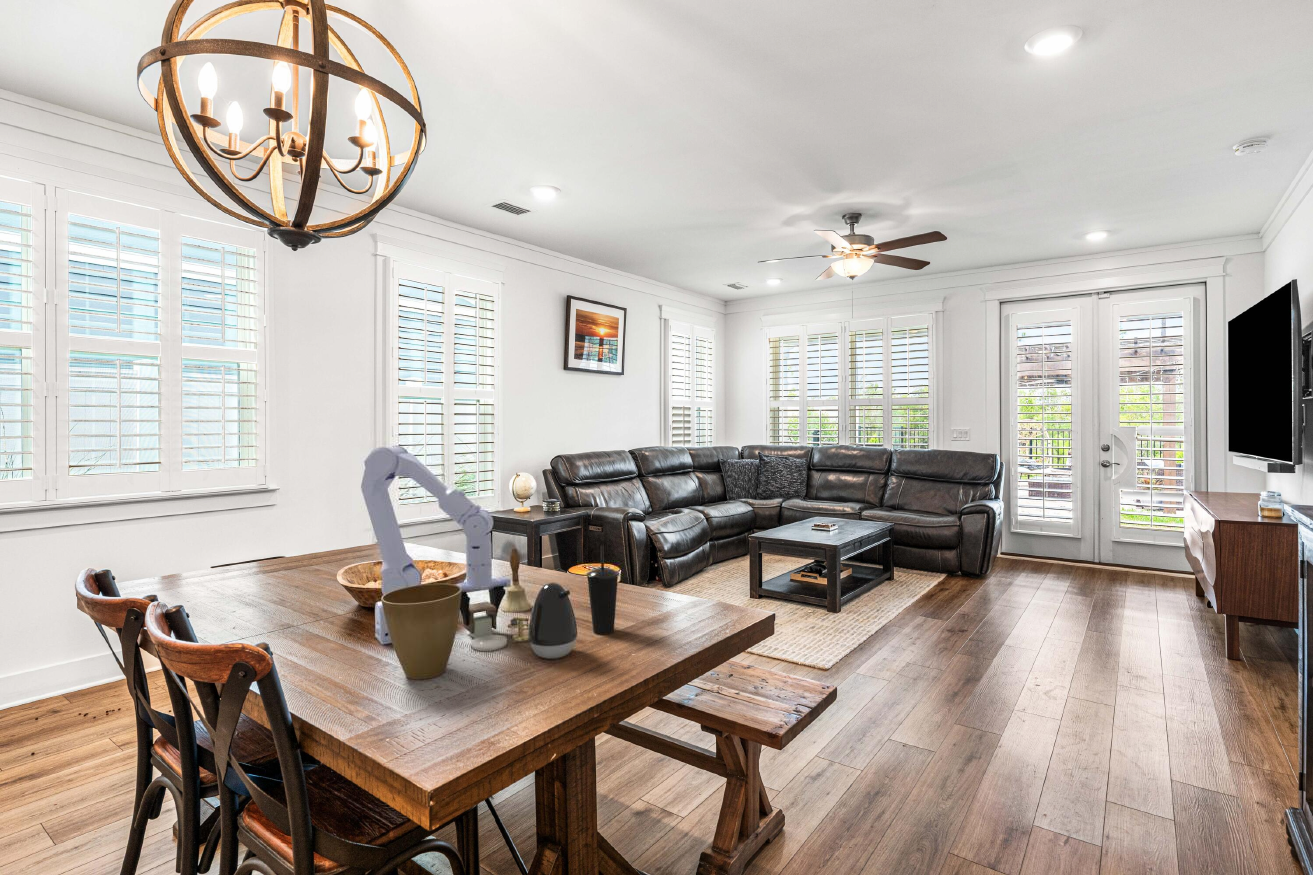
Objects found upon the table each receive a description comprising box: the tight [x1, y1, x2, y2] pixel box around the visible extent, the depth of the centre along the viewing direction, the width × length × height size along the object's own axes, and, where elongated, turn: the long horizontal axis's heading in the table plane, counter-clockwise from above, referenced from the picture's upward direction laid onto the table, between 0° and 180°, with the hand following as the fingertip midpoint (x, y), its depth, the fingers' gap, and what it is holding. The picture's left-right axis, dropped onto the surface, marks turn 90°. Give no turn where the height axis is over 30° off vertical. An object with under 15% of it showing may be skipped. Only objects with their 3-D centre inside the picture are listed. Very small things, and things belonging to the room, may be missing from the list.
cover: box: [463, 601, 498, 634], centre depth 152 cm, size 6×6×5 cm
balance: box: [507, 616, 530, 644], centre depth 147 cm, size 4×11×6 cm, turn 34°
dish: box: [470, 634, 508, 652], centre depth 144 cm, size 8×8×1 cm
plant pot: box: [380, 583, 462, 681], centre depth 128 cm, size 15×15×16 cm
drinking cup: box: [585, 545, 620, 636], centre depth 152 cm, size 8×8×20 cm
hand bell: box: [500, 547, 533, 614], centre depth 173 cm, size 8×8×16 cm
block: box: [468, 613, 493, 639], centre depth 152 cm, size 4×4×4 cm
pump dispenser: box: [527, 582, 578, 660], centre depth 137 cm, size 10×10×15 cm
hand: (479, 621), depth 152 cm, fingers closed on cover, 6 cm apart
